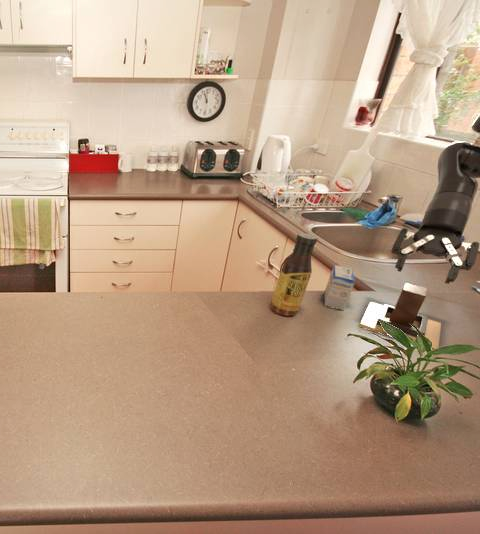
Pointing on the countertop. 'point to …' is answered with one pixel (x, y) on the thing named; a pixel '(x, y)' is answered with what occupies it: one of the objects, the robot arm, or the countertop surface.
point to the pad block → (408, 304)
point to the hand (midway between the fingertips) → (423, 276)
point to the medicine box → (339, 287)
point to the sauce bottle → (294, 277)
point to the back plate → (384, 313)
